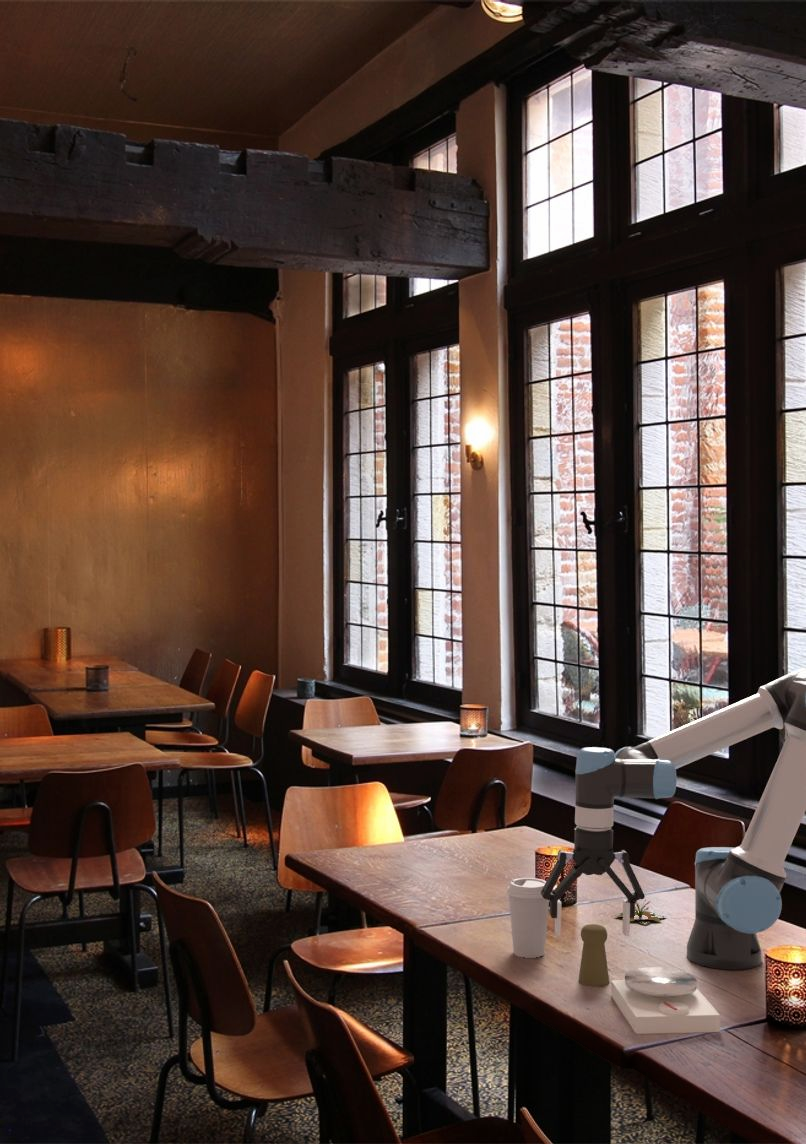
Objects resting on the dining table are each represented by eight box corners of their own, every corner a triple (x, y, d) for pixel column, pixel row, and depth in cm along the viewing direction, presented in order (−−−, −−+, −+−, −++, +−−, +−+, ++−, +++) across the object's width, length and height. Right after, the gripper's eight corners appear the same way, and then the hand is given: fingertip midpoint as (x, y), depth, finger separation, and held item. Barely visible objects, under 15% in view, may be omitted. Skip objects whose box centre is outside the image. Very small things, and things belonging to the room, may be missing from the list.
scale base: (688, 994, 237) (688, 973, 237) (719, 1032, 218) (719, 1009, 218) (611, 996, 236) (611, 975, 236) (635, 1033, 217) (635, 1011, 217)
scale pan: (685, 972, 236) (685, 966, 236) (705, 996, 223) (705, 990, 223) (617, 974, 235) (617, 967, 235) (634, 998, 222) (634, 991, 222)
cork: (608, 987, 241) (608, 931, 241) (577, 985, 242) (577, 929, 242) (610, 977, 247) (610, 922, 247) (579, 975, 248) (579, 920, 248)
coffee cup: (522, 943, 269) (522, 874, 269) (560, 952, 263) (560, 881, 263) (497, 954, 261) (497, 883, 261) (535, 963, 255) (535, 891, 255)
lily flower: (603, 920, 288) (604, 900, 288) (634, 910, 296) (634, 891, 296) (647, 931, 279) (647, 911, 279) (677, 920, 288) (677, 901, 288)
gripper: (651, 823, 249) (649, 928, 249) (528, 822, 247) (526, 928, 248) (661, 831, 241) (659, 940, 242) (534, 830, 240) (532, 940, 240)
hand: (591, 934), depth 245 cm, fingers open, 13 cm apart
